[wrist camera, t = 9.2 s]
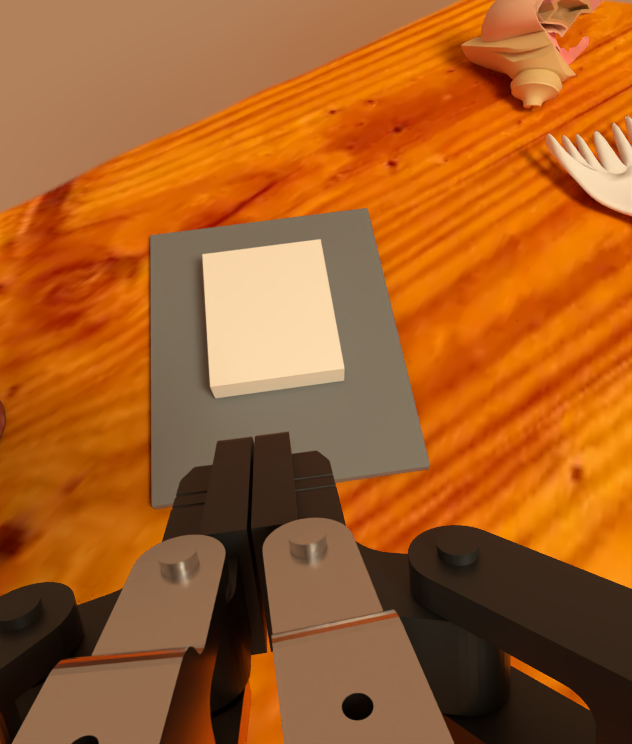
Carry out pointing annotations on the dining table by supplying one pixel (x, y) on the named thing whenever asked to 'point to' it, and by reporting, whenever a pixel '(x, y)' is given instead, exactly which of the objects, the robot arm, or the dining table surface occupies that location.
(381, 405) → the mat
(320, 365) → the tile
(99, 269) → the dining table surface
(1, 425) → the supplement bottle
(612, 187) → the spoon
